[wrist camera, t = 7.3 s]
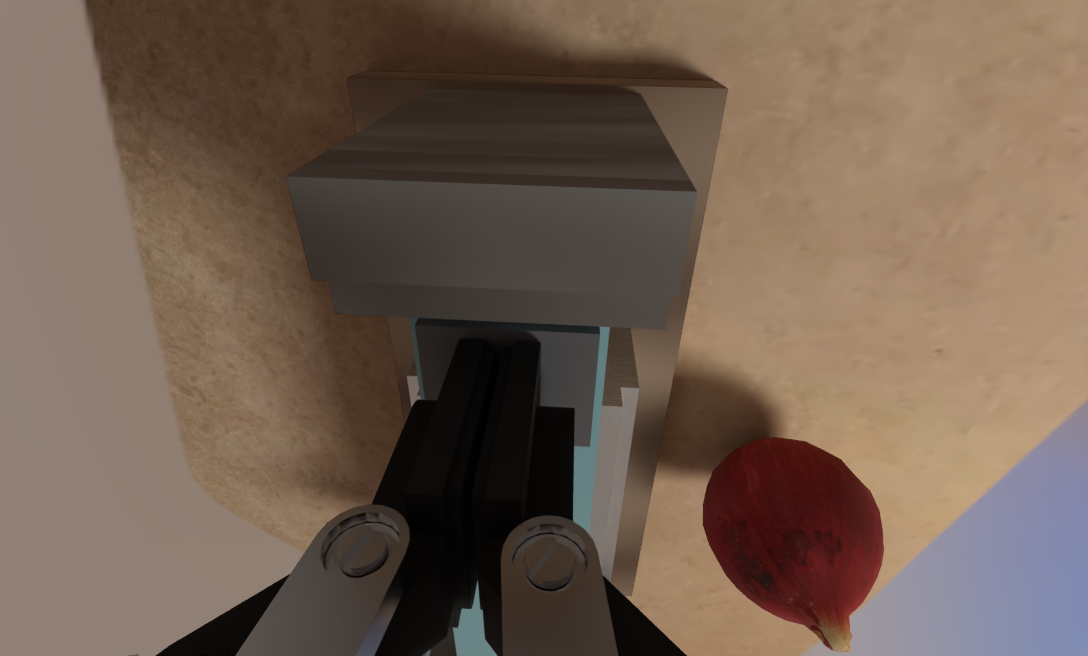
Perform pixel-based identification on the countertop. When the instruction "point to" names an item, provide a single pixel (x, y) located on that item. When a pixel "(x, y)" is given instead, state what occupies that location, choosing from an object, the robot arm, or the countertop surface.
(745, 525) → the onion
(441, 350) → the bar
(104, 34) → the countertop surface
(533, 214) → the clip base
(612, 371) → the heat sink
